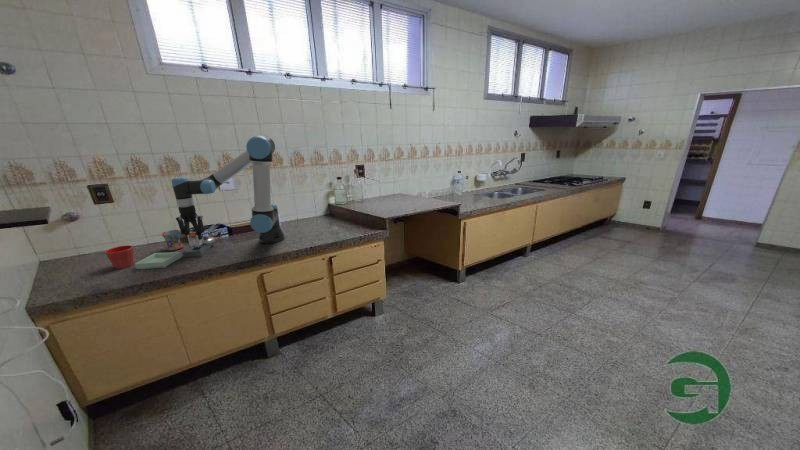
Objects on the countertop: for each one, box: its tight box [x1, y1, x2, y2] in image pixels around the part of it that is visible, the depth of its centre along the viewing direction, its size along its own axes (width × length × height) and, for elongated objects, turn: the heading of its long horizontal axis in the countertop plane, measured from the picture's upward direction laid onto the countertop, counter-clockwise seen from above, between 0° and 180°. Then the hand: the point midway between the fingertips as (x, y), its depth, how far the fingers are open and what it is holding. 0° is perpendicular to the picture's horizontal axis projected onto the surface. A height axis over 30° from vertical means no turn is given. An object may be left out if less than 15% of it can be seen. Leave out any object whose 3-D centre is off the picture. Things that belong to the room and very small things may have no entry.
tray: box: [134, 251, 183, 270], centre depth 161 cm, size 14×14×3 cm
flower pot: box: [104, 244, 135, 270], centre depth 157 cm, size 11×11×10 cm
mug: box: [160, 229, 184, 251], centre depth 181 cm, size 12×9×11 cm
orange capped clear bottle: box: [189, 231, 200, 250], centre depth 171 cm, size 4×4×12 cm
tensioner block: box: [181, 235, 216, 258], centre depth 177 cm, size 10×20×7 cm, turn 3°
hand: (196, 244), depth 172 cm, fingers closed on orange capped clear bottle, 4 cm apart
